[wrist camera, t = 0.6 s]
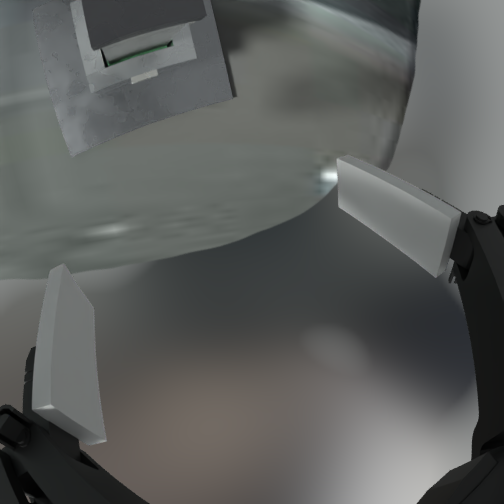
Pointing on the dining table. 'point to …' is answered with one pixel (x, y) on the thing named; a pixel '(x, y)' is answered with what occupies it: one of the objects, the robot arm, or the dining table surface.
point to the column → (137, 25)
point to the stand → (124, 76)
